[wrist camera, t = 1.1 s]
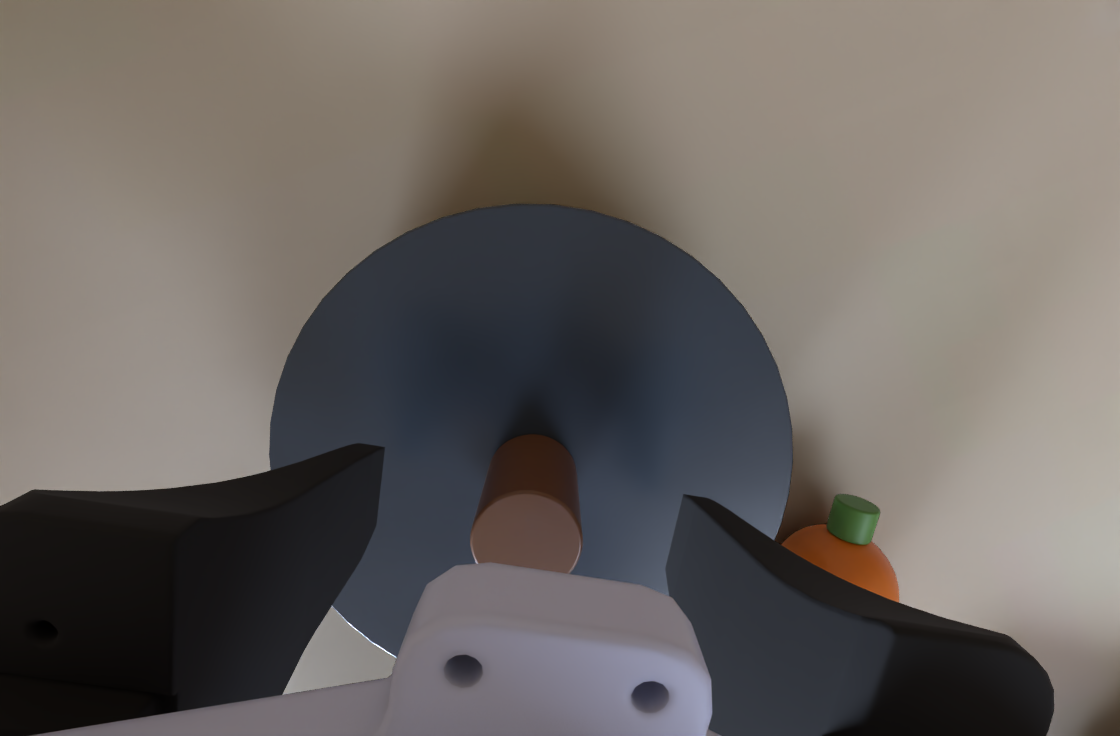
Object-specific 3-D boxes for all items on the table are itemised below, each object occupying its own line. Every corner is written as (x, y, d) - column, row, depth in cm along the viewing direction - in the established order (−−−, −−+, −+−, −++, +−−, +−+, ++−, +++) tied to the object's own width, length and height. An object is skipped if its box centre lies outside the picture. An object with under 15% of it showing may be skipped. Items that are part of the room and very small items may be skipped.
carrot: (809, 707, 23) (861, 802, 19) (714, 693, 23) (747, 787, 19) (881, 485, 21) (955, 543, 17) (777, 469, 21) (828, 522, 17)
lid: (797, 629, 18) (878, 761, 13) (358, 699, 18) (295, 850, 14) (753, 159, 15) (841, 126, 10) (222, 258, 15) (81, 267, 11)
